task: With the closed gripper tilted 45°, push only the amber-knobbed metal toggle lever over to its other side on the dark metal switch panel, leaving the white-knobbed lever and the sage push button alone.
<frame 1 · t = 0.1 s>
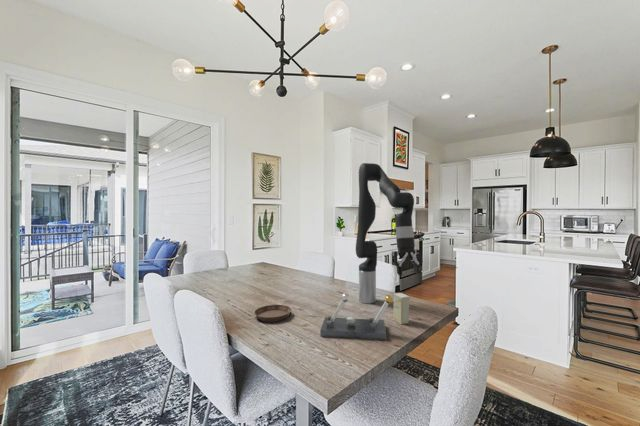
hand: (408, 274, 128), 23 cm above the table, tool pointing down, fingers open, 8 cm apart
white lever: (338, 308, 125), point 9 cm above the table, hinge at -30.0°
push button: (351, 320, 124), point 4 cm above the table, slide at 0.0 cm
switch panel: (353, 330, 124), on the table
skincare box: (401, 321, 134), on the table
amber lever: (382, 310, 122), point 9 cm above the table, hinge at -30.0°
plant saucer: (273, 317, 142), on the table
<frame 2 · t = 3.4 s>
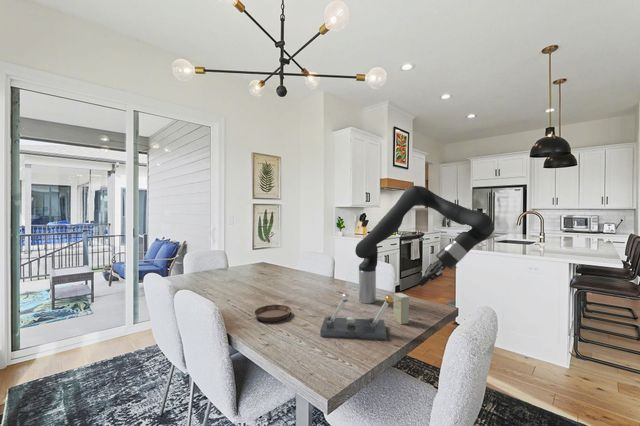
hand: (419, 284, 119), 21 cm above the table, tool tilted 45°, fingers closed
nothing on the table moved.
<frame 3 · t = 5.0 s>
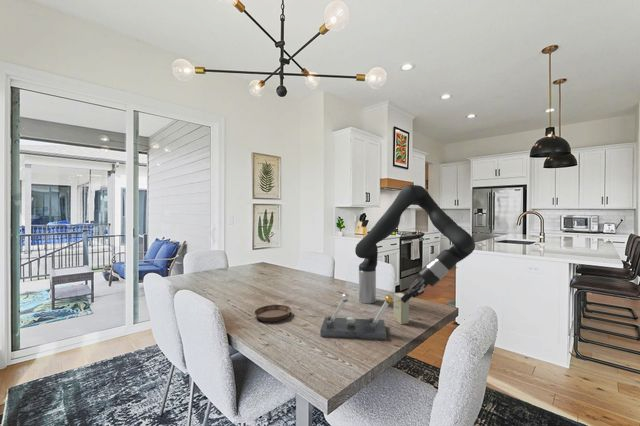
hand: (402, 300, 121), 13 cm above the table, tool tilted 45°, fingers closed
nothing on the table moved.
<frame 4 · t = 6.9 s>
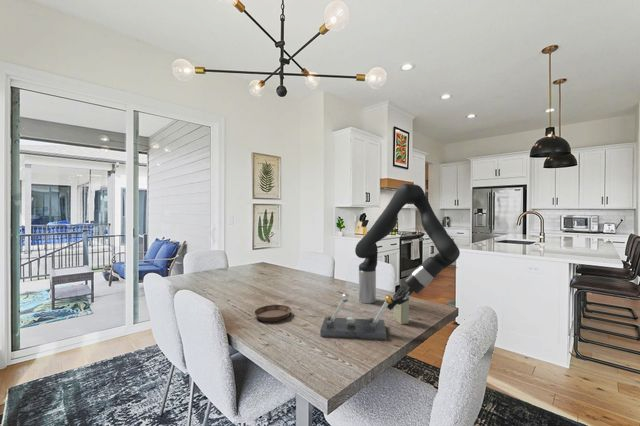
hand: (388, 307, 122), 10 cm above the table, tool tilted 45°, fingers closed
amber lever: (382, 310, 122), point 9 cm above the table, hinge at -30.0°, touching gripper
everything else where it was.
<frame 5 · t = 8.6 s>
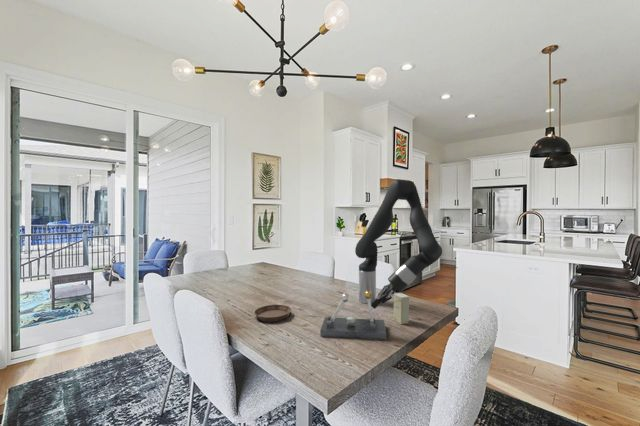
hand: (372, 306, 123), 11 cm above the table, tool tilted 45°, fingers closed
amber lever: (370, 307, 123), point 10 cm above the table, hinge at 7.7°, touching gripper
everything else where it was.
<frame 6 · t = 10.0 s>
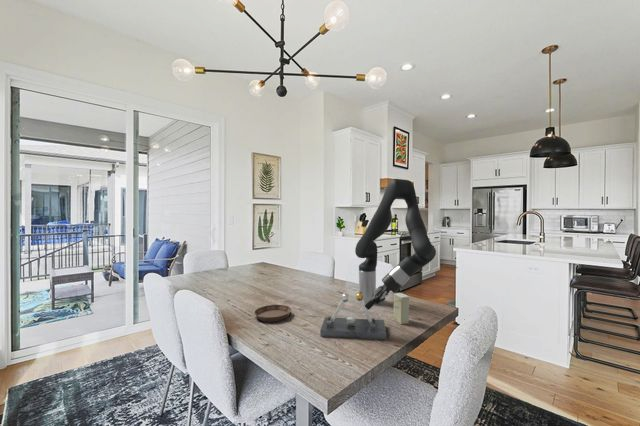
hand: (366, 307, 123), 10 cm above the table, tool tilted 45°, fingers closed
amber lever: (365, 308, 123), point 10 cm above the table, hinge at 23.7°, touching gripper
everything else where it was.
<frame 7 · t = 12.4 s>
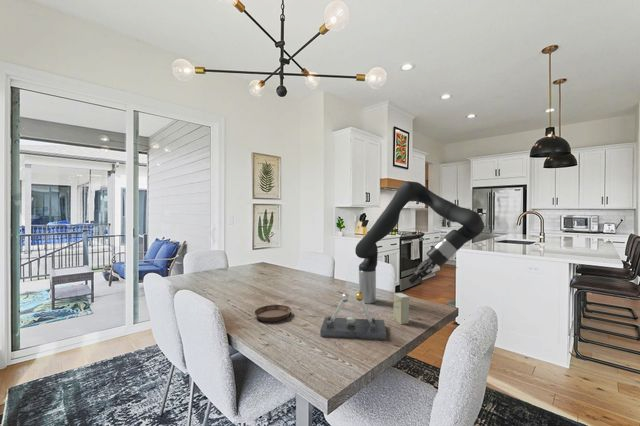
hand: (410, 282, 120), 21 cm above the table, tool tilted 45°, fingers closed
amber lever: (365, 308, 123), point 10 cm above the table, hinge at 23.7°
everything else where it was.
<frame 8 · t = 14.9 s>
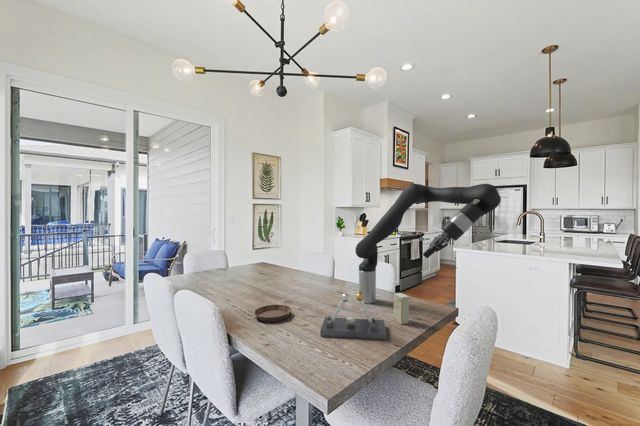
hand: (424, 256, 119), 32 cm above the table, tool tilted 45°, fingers closed
nothing on the table moved.
at the end: amber lever at +24° (first picture: -30°); white lever at -30° (first picture: -30°); push button slide at 0.0 cm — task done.
